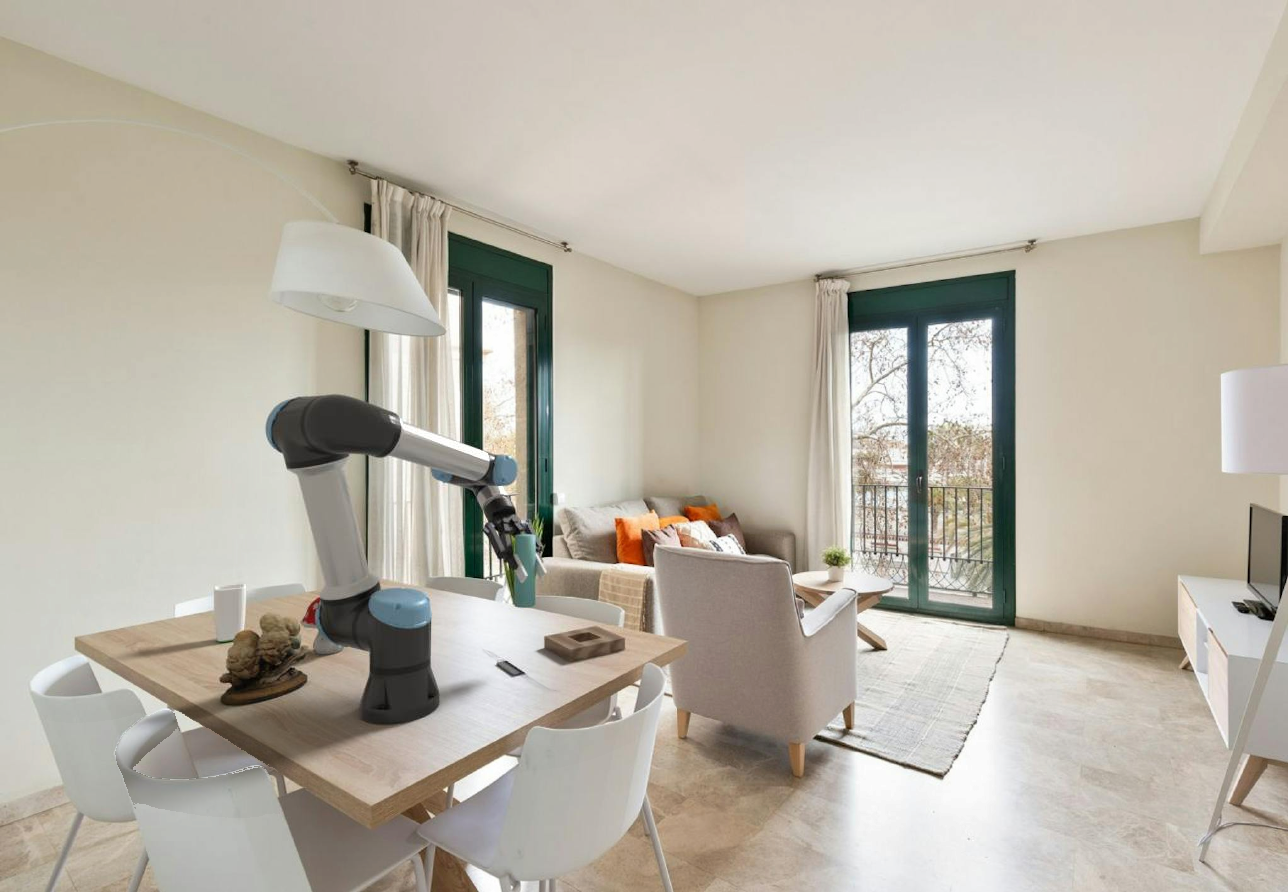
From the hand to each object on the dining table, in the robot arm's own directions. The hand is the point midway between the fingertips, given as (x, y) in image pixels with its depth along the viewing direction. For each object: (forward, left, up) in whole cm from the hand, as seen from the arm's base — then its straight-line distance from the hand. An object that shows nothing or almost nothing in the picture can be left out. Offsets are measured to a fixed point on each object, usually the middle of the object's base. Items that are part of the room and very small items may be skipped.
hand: (534, 577), depth 147 cm
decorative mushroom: (-37, +46, -22) cm, 63 cm away
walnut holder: (+16, +4, -22) cm, 28 cm away
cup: (-58, +74, -22) cm, 96 cm away
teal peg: (-1, +4, -7) cm, 8 cm away
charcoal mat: (-1, +4, -22) cm, 22 cm away
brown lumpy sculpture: (-53, +23, -22) cm, 62 cm away
